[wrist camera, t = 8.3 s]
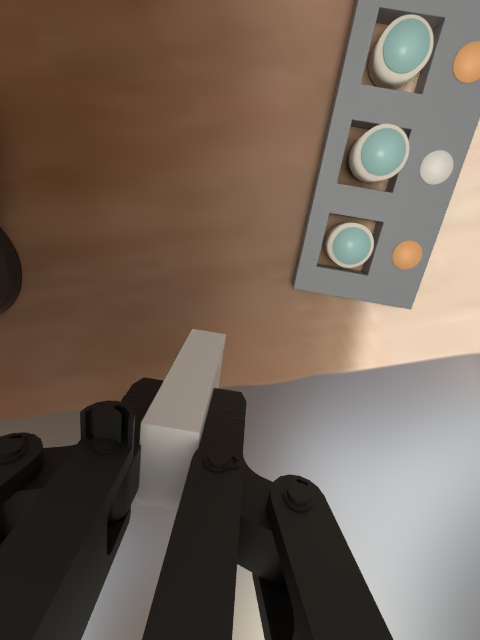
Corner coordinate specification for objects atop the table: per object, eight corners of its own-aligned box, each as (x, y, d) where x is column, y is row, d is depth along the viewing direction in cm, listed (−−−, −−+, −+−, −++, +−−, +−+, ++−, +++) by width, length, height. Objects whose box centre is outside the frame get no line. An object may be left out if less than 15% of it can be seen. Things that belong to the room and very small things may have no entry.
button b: (343, 178, 35) (351, 175, 31) (356, 127, 33) (365, 118, 30) (388, 186, 35) (400, 183, 31) (403, 135, 33) (418, 127, 30)
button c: (362, 86, 34) (372, 73, 30) (376, 28, 32) (388, 8, 29) (408, 93, 34) (423, 81, 30) (425, 36, 32) (443, 17, 29)
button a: (319, 259, 40) (324, 264, 36) (329, 218, 38) (335, 219, 35) (359, 266, 40) (367, 271, 36) (370, 225, 38) (380, 227, 35)
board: (292, 283, 41) (293, 288, 39) (359, -21, 31) (367, -41, 29) (402, 303, 41) (411, 309, 38) (507, 2, 31) (528, -16, 28)
